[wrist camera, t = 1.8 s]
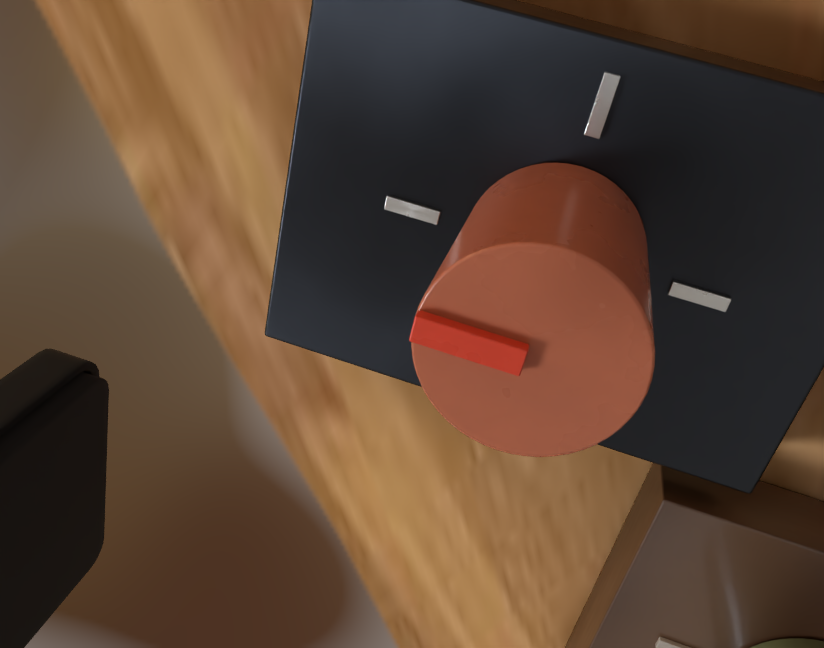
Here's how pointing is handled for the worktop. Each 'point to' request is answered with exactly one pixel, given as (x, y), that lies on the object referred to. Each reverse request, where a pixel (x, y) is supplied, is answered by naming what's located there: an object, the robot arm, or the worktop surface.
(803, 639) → the green rotary knob near
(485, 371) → the dial knob
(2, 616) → the robot arm
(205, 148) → the worktop surface
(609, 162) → the black dial base plate
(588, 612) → the brown dial base plate
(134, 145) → the worktop surface
